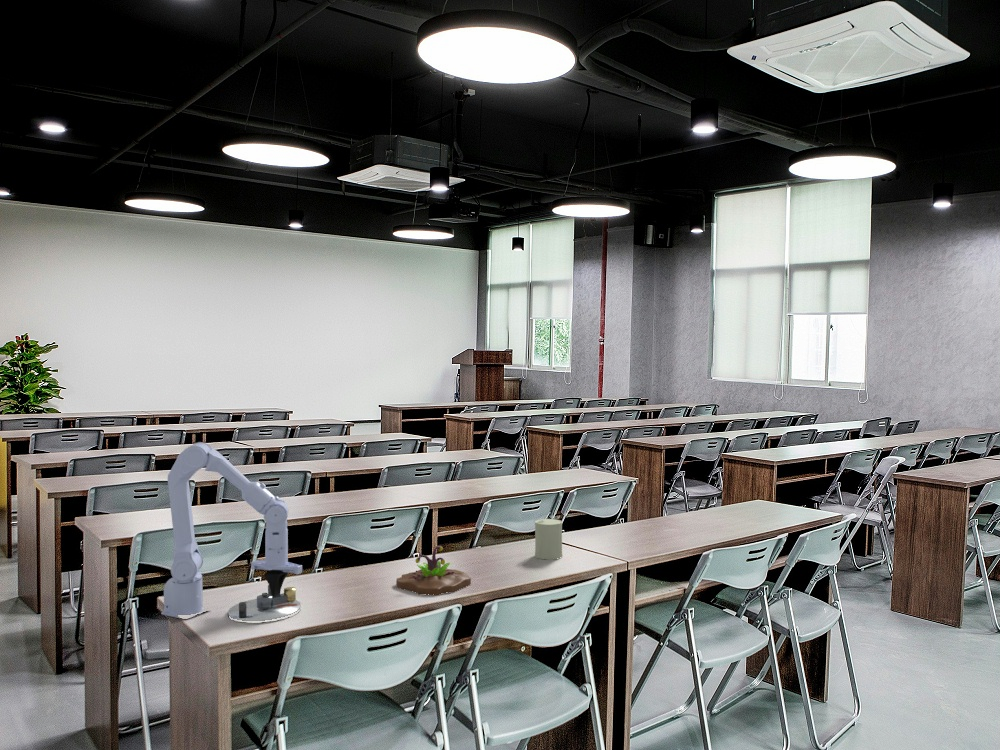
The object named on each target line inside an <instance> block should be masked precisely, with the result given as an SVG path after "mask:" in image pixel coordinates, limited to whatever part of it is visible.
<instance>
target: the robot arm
mask: <svg viewBox="0 0 1000 750" xmlns="http://www.w3.org/2000/svg"><path fill="white" fill-rule="evenodd" d="M204 467H205V469H204V471H205V472H212V473H214V472H215V473H218V474H219V475H221V476H222V477H223V478H224V479H226V480H227V481H228V482H229V483H230V484H232V485H233V486H234V487H236V489H238V490H239V491H241V499H242V500H243V501H245V502H246V503H247V504H248V505H249V506H251V507H252V508H253V510H255V511H256V512H257V513H259V514H260V515H263V520H264V522H265V524H266V525H265V528H266V529H265V537H264V539H265V540H264V541H265V542H264V543H265V545H264V546H265V547H264V548H265V553H264V554H265V555H264V558H265V560H254V561H251V563H250V566H251V568H250V569H251V570H263V571H266V572H265V573H264V574H263V576H264V577H263V578H264V579H265V580H266V582H267V584H268V585H269V586H270V589H271V592H272V595H273V596H275V595H278V594H281V590H282V587H283V584H284V581H285V579H286V577H287V576H288V573H291V574H294V575H300V574H301V573H303V565H302V564H297V563H293V562H290V561H289V558H288V557H289V556H288V555H289V552H288V551H289V539H288V537H289V536H288V535H289V532H288V531H289V529H288V520H287V519H288V515H289V507H288V505H287V503H286V502H285V501H284V500H282V499H280V497H279V496H278V495H274V494H273V493H272V492H270V491H269V490H268V488H266V487H267V486H266V484H265V483H264V482H261V483H260V482H259V481H250V479H248V478H247V477H246V476H245V475H244V474H243V473H242V472H241V471H239V469H237V468H236V467H235V466H234V465H233V464H232V463H231V462H230V461H229V460H228V459H227V458H226V457H225V456H223V455H222V453H220V452H219V451H218V450H216V449H214V448H212V447H211V446H210V444H208V443H206V442H203V441H202V442H201V441H198V442H195V443H193V444H192V445H190V446H188V447H186V448H184V450H183V451H182V452H180V453H179V454H178V455H177V457H176V460H175V462H174V464H173V465H172V467H171V469H170V471H169V473H168V474H167V489H168V495H169V506H170V512H171V523H172V531H173V540H174V541H173V542H174V548H173V552H172V554H173V555H172V556H173V557H172V558H173V560H172V561H173V562H172V565H171V567H170V574H171V576H172V577H171V578H169V579H168V580H167V581H166V583H165V585H164V588H163V611H162V612H160V613H161V615H163V616H168V617H172V618H177V619H179V618H178V615H191V614H196V613H199V612H201V611H202V610H203V607H204V605H203V604H204V603H203V601H204V600H203V596H204V595H203V593H204V592H203V574H202V573H201V571H200V569H201V568H202V567H203V564H204V559H203V558H204V557H203V555H202V554H201V552H200V551H199V546H198V545H199V544H198V543H197V540H196V536H195V527H194V525H195V524H194V518H193V517H194V516H193V509H192V499H191V498H192V497H191V490H190V479H191V478H192V477H193V476H194V475H196V473H197V472H198V471H200V470H201V469H202V468H204Z"/></svg>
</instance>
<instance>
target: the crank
mask: <svg viewBox="0 0 1000 750" xmlns="http://www.w3.org/2000/svg"><path fill="white" fill-rule="evenodd" d="M296 591H297V590H296V587H294V586H289V587H284V588H283V593H280V594H278V595H275V596H273V595H271V594H268V596H265V597H263V596H262V594H260V595H257V596H256V599H257V608H259V609H267V608H271V607H272V606H274V605H279V604H283V603H287V602H294V601H296V600H297V598H296V597H297V596H296V595H297V593H296Z"/></svg>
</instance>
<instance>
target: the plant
mask: <svg viewBox="0 0 1000 750" xmlns="http://www.w3.org/2000/svg"><path fill="white" fill-rule="evenodd" d="M443 549H444V548H443V546H441V545H437V546H435V548H433V551H432V554H431V555H432V557H431V559H430V557H428V556H427V555H424V554H421V555H420V556H417V558H415V563H416V567H418V570H415V571H414V572H413V571H412V572H409V573H405V574H401V577H397V578H396V581H395V582H396V583H395V584H396V585H397V586H396V588H398V589H400V588H401V589H400V590H404V589H405V590H406V591H408V592H412V591H413V592H412V593H415V592H416V593H415V594H417V593H418V594H417V595H420V594H426V595H425V596H440V595H439V594H441V593H444V594H450V593H449V592H453V593H456V592H458V591H460V590H462V589H464V588H463V587H465V588H467V587H469V586H471V585H472V584H471V583H472V580H471V579H472V578H471V577H470V575H468V573H466V572H464V571H461V570H458V569H450V568H448V567H449V566H450V565H451V562H447V563H446V560H445V558H443V557H437V558H436V552H437V550H438V551H439V552H442V551H443ZM421 558H424V559H425V560H426V562H423V563H422V564H423V565H422V564H419V563H420V562H421ZM470 584H471V585H470ZM468 585H469V586H468ZM466 586H467V587H466ZM461 588H462V589H461ZM459 589H460V590H459ZM457 590H458V591H457ZM455 591H456V592H455ZM446 592H448V593H446ZM428 594H429V595H428ZM433 594H434V595H433ZM441 595H442V594H441Z"/></svg>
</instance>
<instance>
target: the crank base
mask: <svg viewBox="0 0 1000 750" xmlns="http://www.w3.org/2000/svg"><path fill="white" fill-rule="evenodd" d="M268 594H271V595H272V592H271V589H270V586H269V584H268V585H267V592H262V593H261V595H262V596H263V597H265V596H268ZM301 605H302V604H301V602H300V601H298V600H297V599H296V601H294V602H287V603H283V604H279V605H274V606H272V607H271V608H267V609H259V608H257V598H254V599H249V600H244V601H240V602H238V603H236V604H235V605H233V606H232V607H230V608H229V609H228V612H227V613H228V614H229V616H230V617H231V618H233V619H237V620H242V621H265V620H272V619H277V618H281V617H285V616H288V615H291V614H293V613H295V612H297V611H298V610H299V609H300V607H302V606H301ZM228 614H227V615H228Z"/></svg>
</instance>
